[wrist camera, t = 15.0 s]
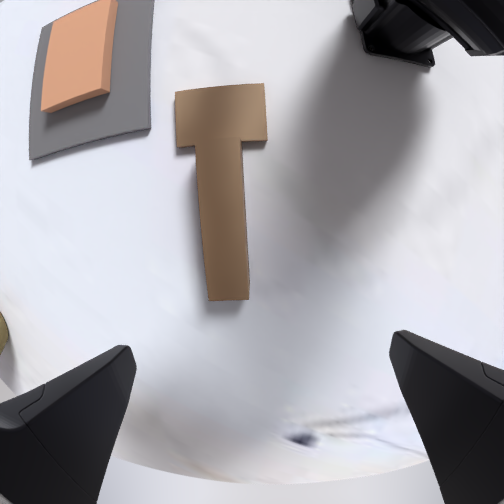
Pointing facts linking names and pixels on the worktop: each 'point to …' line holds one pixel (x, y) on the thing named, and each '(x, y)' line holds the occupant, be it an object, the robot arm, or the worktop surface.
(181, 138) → the turner
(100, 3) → the tile
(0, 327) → the squeeze bottle
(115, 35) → the mat
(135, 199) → the worktop surface
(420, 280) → the worktop surface
